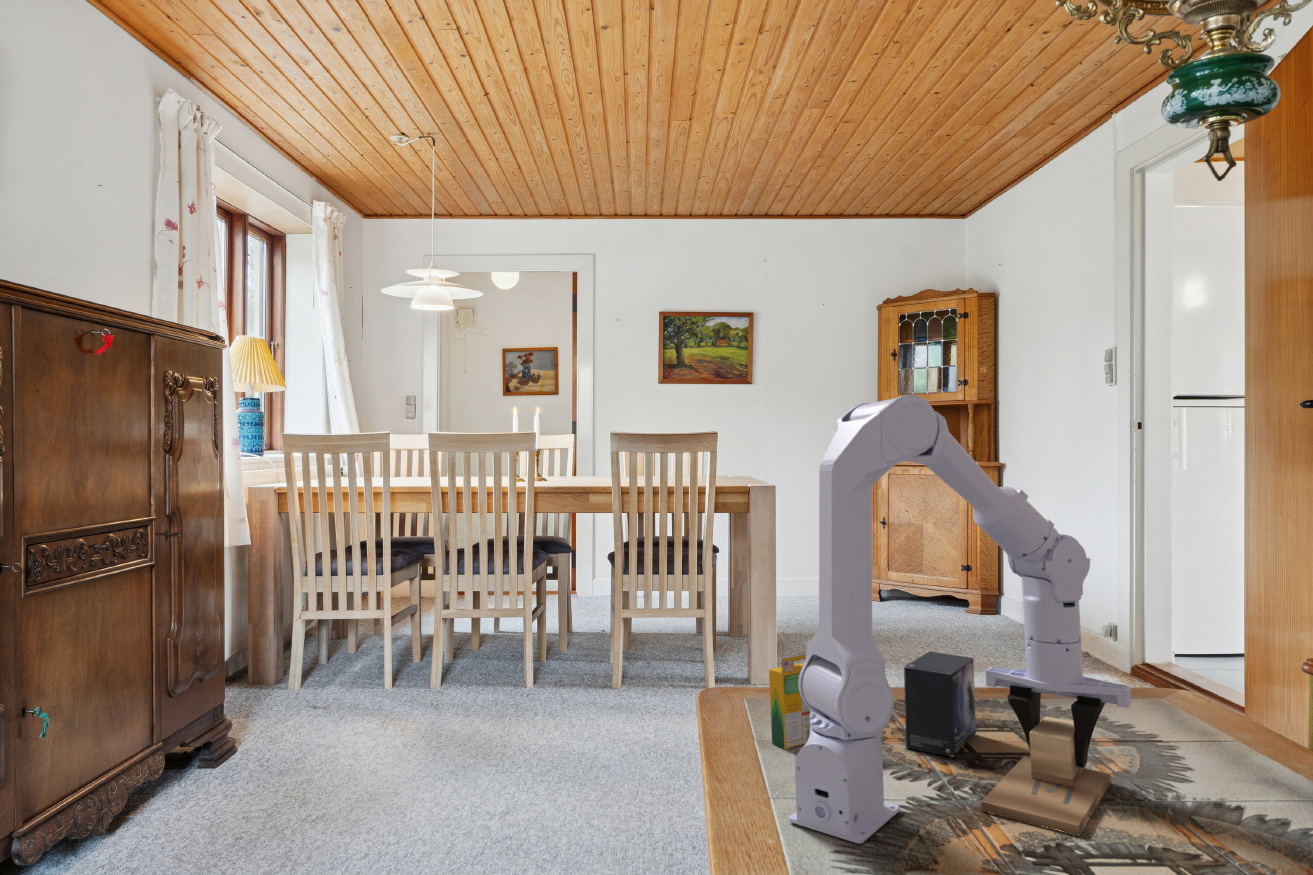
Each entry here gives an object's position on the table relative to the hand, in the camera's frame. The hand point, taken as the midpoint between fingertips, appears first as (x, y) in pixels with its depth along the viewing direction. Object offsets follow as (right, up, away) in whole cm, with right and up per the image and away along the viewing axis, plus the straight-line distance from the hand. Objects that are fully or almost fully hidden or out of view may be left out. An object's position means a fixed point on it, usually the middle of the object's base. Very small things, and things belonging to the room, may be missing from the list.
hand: (1058, 759), depth 85 cm
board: (-3, -2, -4) cm, 6 cm away
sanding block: (0, -1, 0) cm, 1 cm away
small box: (-8, -4, +13) cm, 16 cm away
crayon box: (-27, -4, +15) cm, 31 cm away
